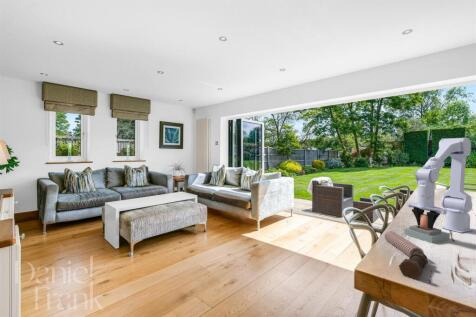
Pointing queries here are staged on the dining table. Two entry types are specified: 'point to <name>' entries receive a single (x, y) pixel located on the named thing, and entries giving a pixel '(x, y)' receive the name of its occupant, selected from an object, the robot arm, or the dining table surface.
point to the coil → (402, 243)
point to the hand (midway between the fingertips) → (425, 226)
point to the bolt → (414, 265)
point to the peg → (424, 222)
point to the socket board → (427, 234)
